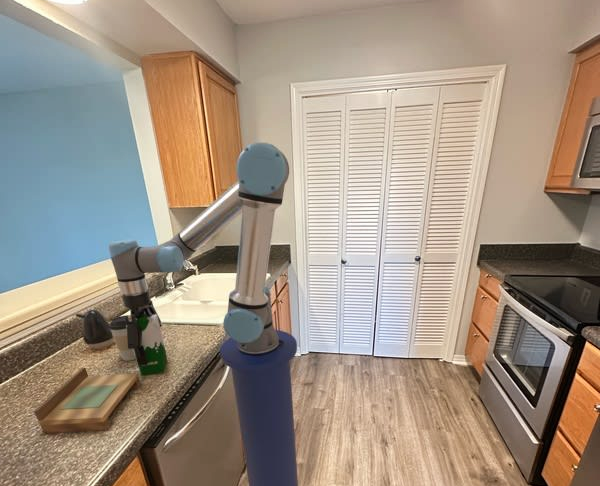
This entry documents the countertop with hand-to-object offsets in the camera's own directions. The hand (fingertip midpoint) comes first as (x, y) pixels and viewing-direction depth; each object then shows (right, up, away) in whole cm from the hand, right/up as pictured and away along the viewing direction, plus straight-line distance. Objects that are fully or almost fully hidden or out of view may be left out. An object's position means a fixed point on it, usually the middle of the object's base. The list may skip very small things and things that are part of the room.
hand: (151, 354), depth 106 cm
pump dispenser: (-28, +1, +20) cm, 34 cm away
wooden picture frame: (-8, -13, -15) cm, 22 cm away
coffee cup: (-12, -2, +11) cm, 17 cm away
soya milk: (0, -5, +2) cm, 6 cm away
